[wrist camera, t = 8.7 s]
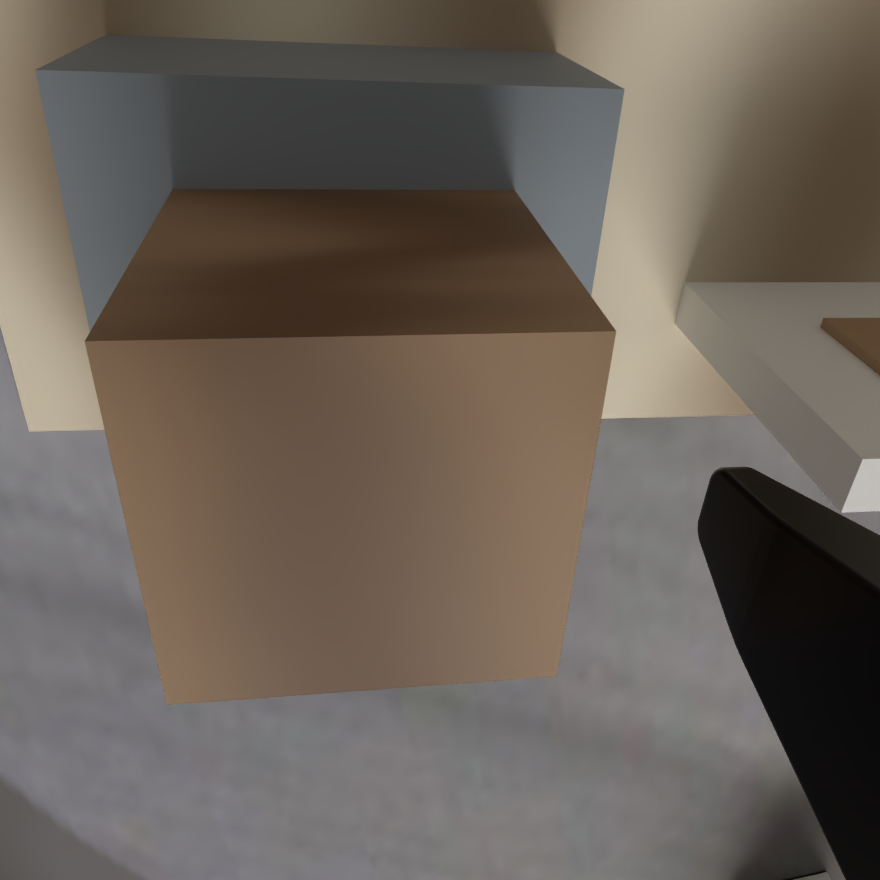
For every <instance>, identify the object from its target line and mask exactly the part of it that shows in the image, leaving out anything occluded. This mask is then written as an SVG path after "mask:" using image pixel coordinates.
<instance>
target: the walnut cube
mask: <svg viewBox="0 0 880 880" xmlns="http://www.w3.org/2000/svg"><path fill="white" fill-rule="evenodd" d="M615 336H616V330H615V329H614V327H613V326H612V325H611V323H610V322H609V320H608V319H607V318H606V316H605V315H604V313H603V312H602V311H601V309H600V308H599V306H598V305H597V304H596V302H595V301H594V299H593V298H592V297H591V295H590V294H589V293H588V291H587V290H586V288H585V287H584V286H583V284H582V283H581V281H580V280H579V279H578V277H577V276H576V274H575V273H574V272H573V270H572V269H571V268H570V266H569V265H568V263H567V262H566V261H565V259H564V258H563V256H562V255H561V254H560V252H559V251H558V249H557V248H556V247H555V245H554V244H553V243H552V241H551V240H550V238H549V237H548V236H547V234H546V233H545V231H544V230H543V229H542V227H541V226H540V224H539V223H538V222H537V220H536V219H535V218H534V216H533V215H532V213H531V212H530V211H529V209H528V208H527V206H526V205H525V204H524V202H523V201H522V199H521V198H520V197H519V195H518V194H517V193H516V191H515V190H352V189H172V191H171V193H170V194H169V196H168V198H167V199H166V201H165V203H164V205H163V206H162V208H161V210H160V212H159V213H158V215H157V217H156V218H155V220H154V222H153V224H152V225H151V227H150V229H149V231H148V232H147V234H146V236H145V238H144V239H143V241H142V243H141V244H140V246H139V248H138V250H137V251H136V253H135V255H134V257H133V258H132V260H131V262H130V263H129V265H128V267H127V269H126V270H125V272H124V274H123V276H122V277H121V279H120V281H119V282H118V284H117V286H116V288H115V289H114V291H113V293H112V295H111V296H110V298H109V300H108V302H107V303H106V305H105V307H104V308H103V310H102V312H101V314H100V315H99V317H98V319H97V321H96V322H95V324H94V326H93V327H92V329H91V331H90V333H89V334H88V336H87V338H86V340H85V346H86V350H87V355H88V359H89V363H90V368H91V372H92V377H93V381H94V385H95V390H96V394H97V399H98V403H99V407H100V412H101V416H102V421H103V425H104V430H105V434H106V438H107V443H108V447H109V452H110V456H111V460H112V465H113V469H114V474H115V478H116V482H117V487H118V491H119V496H120V500H121V504H122V509H123V513H124V518H125V522H126V526H127V531H128V535H129V540H130V544H131V548H132V553H133V557H134V562H135V566H136V571H137V575H138V579H139V584H140V588H141V593H142V597H143V601H144V606H145V610H146V615H147V619H148V623H149V628H150V632H151V637H152V641H153V645H154V650H155V654H156V659H157V663H158V667H159V672H160V676H161V681H162V685H163V689H164V694H165V698H166V703H167V705H173V704H186V703H200V702H214V701H227V700H241V699H255V698H268V697H282V696H296V695H309V694H323V693H336V692H350V691H364V690H377V689H391V688H405V687H418V686H432V685H446V684H459V683H473V682H487V681H500V680H514V679H528V678H541V677H555V676H557V674H558V668H559V662H560V656H561V650H562V645H563V639H564V633H565V627H566V621H567V616H568V610H569V604H570V598H571V592H572V586H573V581H574V575H575V569H576V563H577V557H578V552H579V546H580V540H581V534H582V528H583V522H584V517H585V511H586V505H587V499H588V493H589V488H590V482H591V476H592V470H593V464H594V459H595V453H596V447H597V441H598V435H599V429H600V424H601V418H602V412H603V406H604V400H605V395H606V389H607V383H608V377H609V371H610V365H611V360H612V354H613V348H614V342H615Z"/></svg>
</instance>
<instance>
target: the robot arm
mask: <svg viewBox="0 0 880 880" xmlns="http://www.w3.org/2000/svg"><path fill="white" fill-rule="evenodd" d="M698 536H699V541H700V544H701V547H702V550H703V553H704V556H705V559H706V561H707V564H708V567H709V570H710V573H711V576H712V579H713V582H714V585H715V588H716V591H717V594H718V597H719V600H720V603H721V606H722V608H723V611H724V614H725V617H726V620H727V623H728V626H729V629H730V632H731V634H732V637H733V639H734V642H735V645H736V647H737V649H738V652H739V654H740V656H741V658H742V661H743V663H744V665H745V667H746V669H747V671H748V673H749V676H750V678H751V680H752V682H753V684H754V686H755V688H756V690H757V693H758V695H759V697H760V699H761V701H762V703H763V705H764V707H765V709H766V712H767V714H768V716H769V718H770V720H771V722H772V724H773V726H774V729H775V731H776V733H777V735H778V737H779V739H780V741H781V743H782V746H783V748H784V750H785V752H786V754H787V756H788V758H789V760H790V762H791V765H792V767H793V769H794V771H795V773H796V775H797V777H798V779H799V782H800V784H801V786H802V788H803V790H804V792H805V794H806V796H807V799H808V801H809V803H810V805H811V807H812V809H813V811H814V813H815V816H816V818H817V820H818V822H819V824H820V826H821V828H822V830H823V832H824V835H825V837H826V839H827V841H828V843H829V845H830V847H831V849H832V852H833V854H834V856H835V858H836V860H837V862H838V864H839V866H840V869H841V871H842V873H843V875H844V877H845V879H846V880H880V535H878V534H876V533H874V532H872V531H871V530H869V529H867V528H865V527H863V526H861V525H859V524H857V523H855V522H853V521H852V520H850V519H848V518H846V517H844V516H842V515H840V514H838V513H836V512H834V511H833V510H831V509H829V508H827V507H825V506H823V505H821V504H819V503H817V502H815V501H813V500H812V499H810V498H808V497H806V496H804V495H802V494H800V493H798V492H796V491H794V490H793V489H791V488H789V487H787V486H785V485H783V484H781V483H779V482H777V481H775V480H773V479H772V478H770V477H768V476H766V475H764V474H762V473H760V472H758V471H756V470H754V469H752V468H749V467H727V468H719V469H717V470H716V471H714V473H713V474H712V476H711V478H710V481H709V485H708V488H707V492H706V495H705V499H704V502H703V506H702V509H701V513H700V516H699V520H698Z"/></svg>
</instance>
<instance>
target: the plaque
mask: <svg viewBox="0 0 880 880" xmlns="http://www.w3.org/2000/svg"><path fill="white" fill-rule="evenodd" d="M675 324H676V326H677V327H678V328H679V329H680V330H681V331H682V332H683V334H684V335H685V336H686V337H687V338H688V339H689V340H690V342H691V343H692V344H693V345H694V346H695V347H696V348H697V349H698V351H699V352H700V353H701V354H702V355H703V356H704V357H705V359H706V360H707V361H708V362H709V363H710V364H711V365H712V367H713V368H714V369H715V370H716V371H717V372H718V373H719V374H720V376H721V377H722V378H723V379H724V380H725V381H726V382H727V384H728V385H729V386H730V387H731V388H732V389H733V390H734V392H735V393H736V394H737V395H738V396H739V397H740V398H741V399H742V401H743V402H744V403H745V404H746V405H747V406H748V407H749V409H750V410H751V411H752V412H753V413H754V414H755V415H756V417H757V418H758V419H759V420H760V421H761V422H762V423H763V424H764V426H765V427H766V428H767V429H768V430H769V431H770V432H771V434H772V435H773V436H774V437H775V438H776V439H777V440H778V442H779V443H780V444H781V445H782V446H783V447H784V448H785V449H786V451H787V452H788V453H789V454H790V455H791V456H792V457H793V459H794V460H795V461H796V462H797V463H798V464H799V465H800V467H801V468H802V469H803V470H804V471H805V472H806V473H807V474H808V476H809V477H810V478H811V479H812V480H813V481H814V482H815V484H816V485H817V486H818V487H819V488H820V489H821V490H822V491H823V493H824V494H825V495H826V496H827V497H828V498H829V499H830V501H831V502H832V503H833V504H834V505H835V506H836V507H837V509H838V510H839V511H840V512H841V513H843V512H868V511H880V282H684V285H683V290H682V294H681V298H680V303H679V307H678V312H677V316H676V320H675Z"/></svg>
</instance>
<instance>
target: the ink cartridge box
mask: <svg viewBox="0 0 880 880" xmlns="http://www.w3.org/2000/svg"><path fill="white" fill-rule="evenodd" d="M793 880H831V878H830V876H829V874H828V873H827V872H823V873H820V874H816V875H812V876H807V877H802V878H798V879H793Z"/></svg>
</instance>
